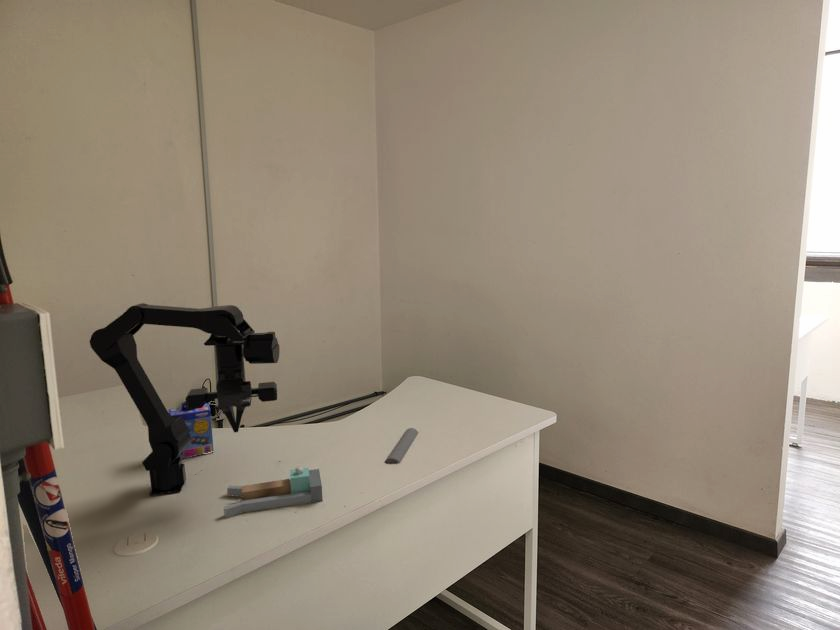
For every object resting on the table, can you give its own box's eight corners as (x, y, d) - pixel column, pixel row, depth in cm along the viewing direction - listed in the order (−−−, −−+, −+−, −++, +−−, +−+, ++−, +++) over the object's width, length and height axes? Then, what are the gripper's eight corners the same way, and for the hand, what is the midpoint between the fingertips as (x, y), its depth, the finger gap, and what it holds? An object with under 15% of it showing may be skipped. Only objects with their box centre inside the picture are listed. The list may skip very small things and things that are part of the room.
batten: (242, 508, 114) (241, 492, 113) (243, 501, 117) (241, 486, 116) (291, 499, 117) (290, 484, 116) (290, 493, 119) (289, 478, 119)
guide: (223, 518, 110) (222, 502, 109) (228, 493, 119) (226, 478, 119) (323, 503, 114) (322, 488, 114) (319, 480, 124) (318, 466, 124)
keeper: (291, 499, 116) (289, 474, 115) (291, 490, 120) (289, 465, 119) (310, 496, 117) (309, 471, 116) (309, 487, 121) (308, 463, 120)
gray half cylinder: (419, 434, 151) (419, 428, 151) (400, 465, 132) (400, 459, 132) (404, 433, 152) (404, 427, 152) (383, 464, 133) (383, 457, 133)
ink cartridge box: (173, 461, 136) (167, 406, 133) (172, 453, 141) (166, 400, 138) (215, 453, 140) (210, 399, 138) (212, 445, 145) (207, 393, 143)
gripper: (177, 378, 108) (185, 452, 110) (274, 370, 112) (279, 440, 115) (186, 364, 118) (193, 431, 121) (274, 357, 123) (279, 422, 126)
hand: (236, 431), depth 120 cm, fingers closed
